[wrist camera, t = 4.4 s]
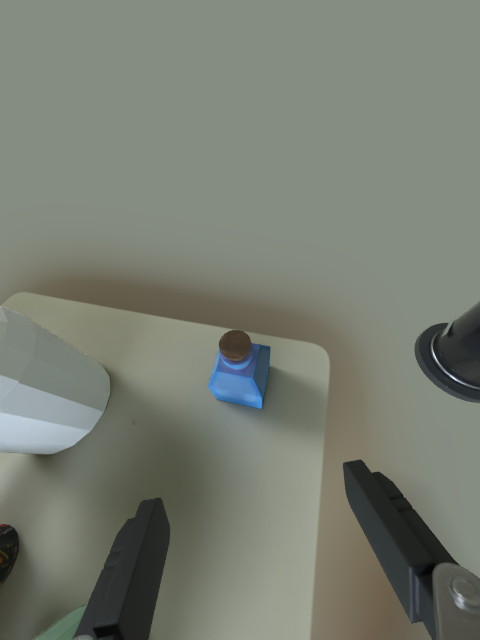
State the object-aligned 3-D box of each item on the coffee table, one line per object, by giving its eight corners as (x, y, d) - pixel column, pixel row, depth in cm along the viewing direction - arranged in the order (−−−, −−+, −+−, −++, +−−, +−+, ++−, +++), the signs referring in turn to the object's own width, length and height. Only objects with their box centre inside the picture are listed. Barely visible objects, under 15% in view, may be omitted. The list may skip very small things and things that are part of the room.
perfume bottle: (217, 399, 31) (195, 368, 21) (228, 358, 35) (213, 313, 24) (261, 409, 30) (261, 380, 20) (269, 365, 33) (271, 321, 23)
